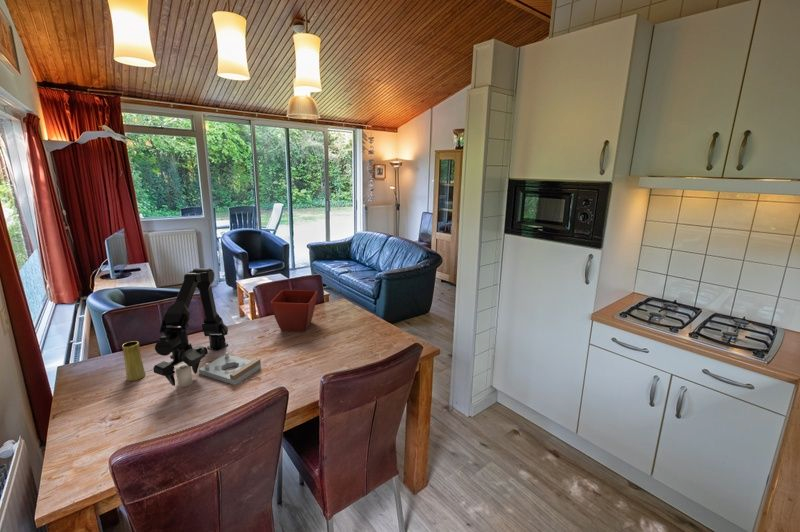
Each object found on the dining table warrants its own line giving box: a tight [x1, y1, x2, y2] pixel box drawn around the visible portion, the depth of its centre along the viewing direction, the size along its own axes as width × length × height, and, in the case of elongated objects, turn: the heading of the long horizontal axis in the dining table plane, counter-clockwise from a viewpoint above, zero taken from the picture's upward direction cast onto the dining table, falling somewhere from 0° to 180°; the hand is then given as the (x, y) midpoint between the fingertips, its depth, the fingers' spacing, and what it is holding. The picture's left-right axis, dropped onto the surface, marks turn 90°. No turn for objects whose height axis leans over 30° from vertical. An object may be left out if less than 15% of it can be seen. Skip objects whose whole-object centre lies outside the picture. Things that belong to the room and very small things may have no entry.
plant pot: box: [270, 289, 318, 332], centre depth 195 cm, size 19×19×17 cm
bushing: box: [174, 363, 194, 388], centre depth 144 cm, size 5×5×7 cm
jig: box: [198, 351, 262, 386], centre depth 153 cm, size 19×14×4 cm
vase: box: [121, 340, 146, 382], centre depth 146 cm, size 6×6×14 cm
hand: (184, 379), depth 144 cm, fingers open, 9 cm apart
